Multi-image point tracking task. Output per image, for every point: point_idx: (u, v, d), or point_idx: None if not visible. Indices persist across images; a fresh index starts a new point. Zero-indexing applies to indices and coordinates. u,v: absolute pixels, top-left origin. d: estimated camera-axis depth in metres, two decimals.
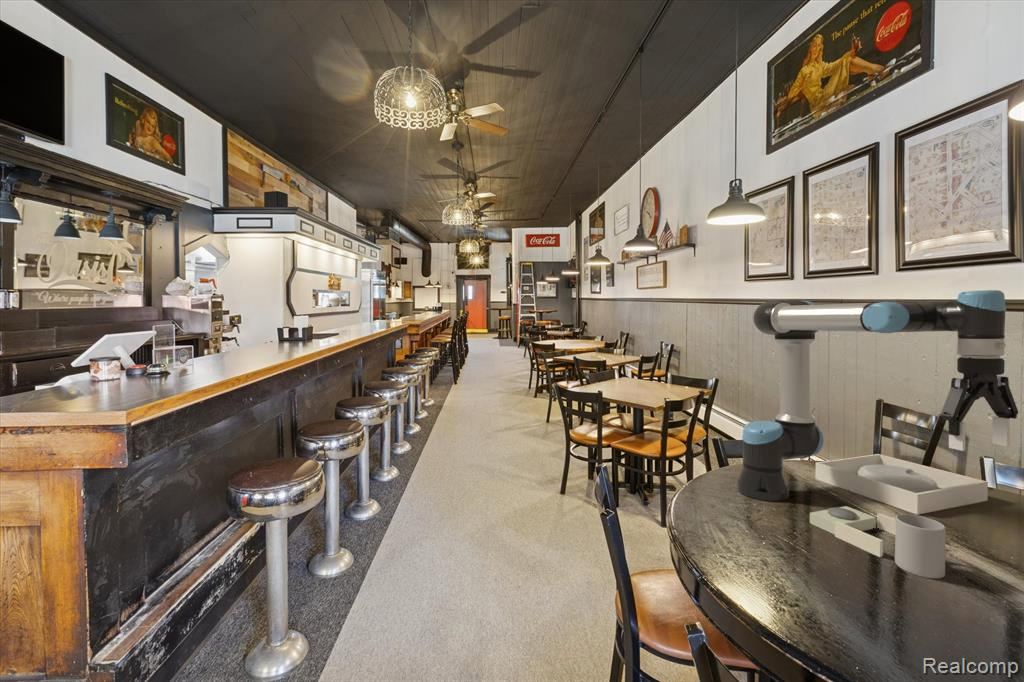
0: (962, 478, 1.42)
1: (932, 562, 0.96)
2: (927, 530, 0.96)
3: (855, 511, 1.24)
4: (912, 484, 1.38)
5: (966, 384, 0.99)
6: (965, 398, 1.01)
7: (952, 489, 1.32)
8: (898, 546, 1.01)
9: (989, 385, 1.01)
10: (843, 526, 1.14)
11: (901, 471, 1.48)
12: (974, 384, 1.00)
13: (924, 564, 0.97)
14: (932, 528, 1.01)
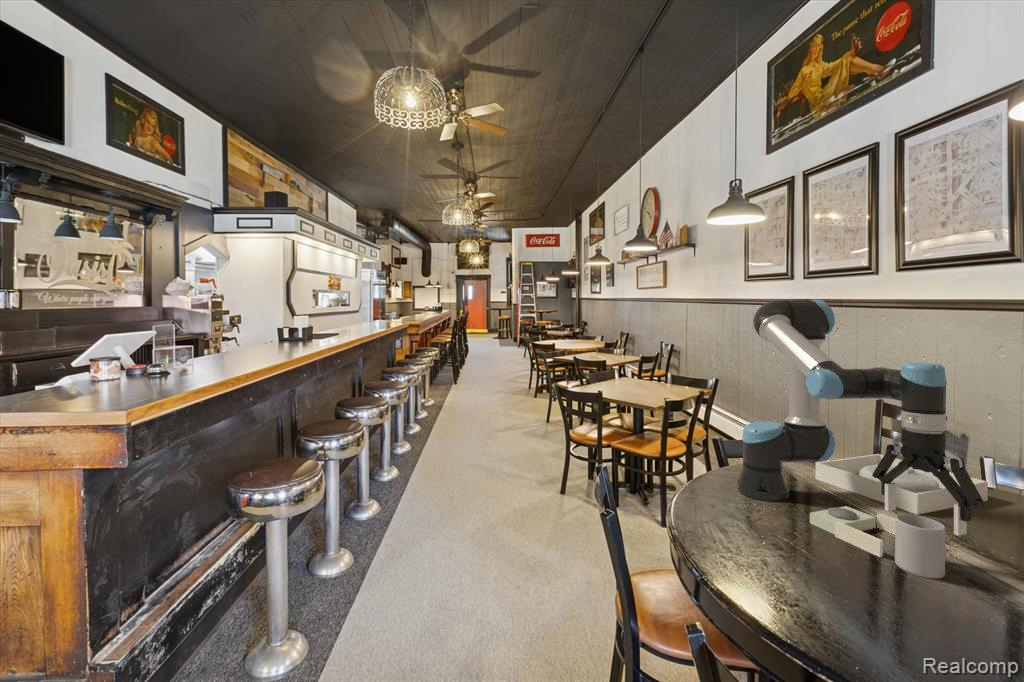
0: None
1: (932, 562, 0.96)
2: (927, 530, 0.97)
3: (855, 511, 1.24)
4: (913, 484, 1.38)
5: (889, 449, 1.06)
6: None
7: None
8: (898, 546, 1.01)
9: None
10: (843, 526, 1.14)
11: None
12: (902, 453, 1.04)
13: (924, 564, 0.97)
14: (932, 528, 1.01)
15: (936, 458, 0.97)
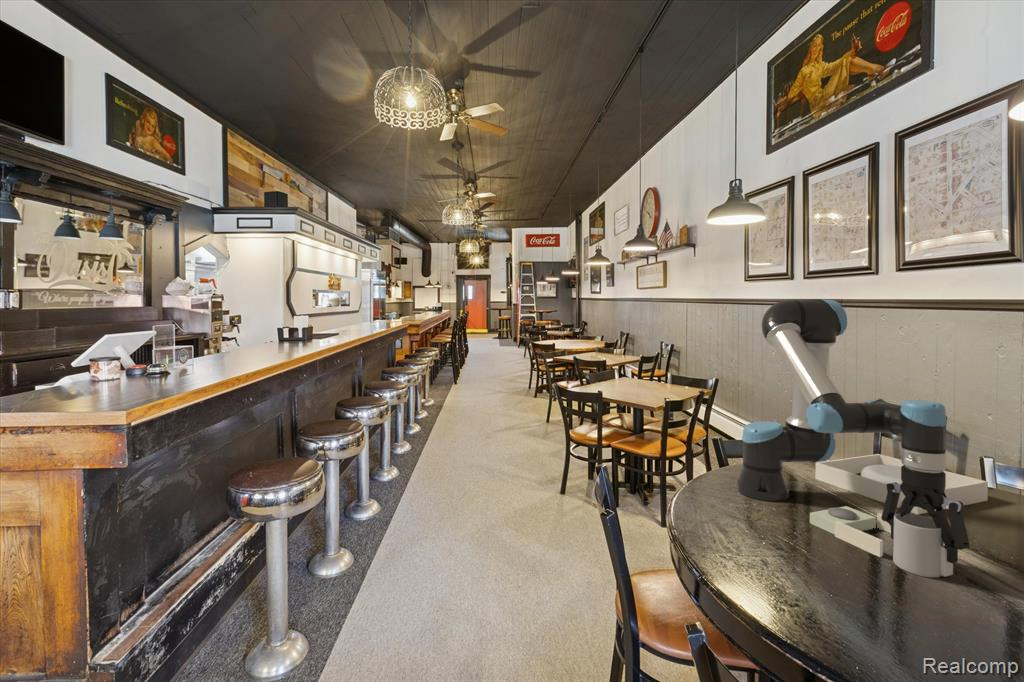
0: (962, 478, 1.42)
1: (930, 561, 0.97)
2: (925, 529, 0.97)
3: (855, 511, 1.24)
4: None
5: (890, 488, 1.06)
6: None
7: (952, 489, 1.32)
8: (896, 546, 1.02)
9: None
10: (843, 526, 1.14)
11: None
12: (902, 490, 1.04)
13: (922, 563, 0.97)
14: (930, 527, 1.01)
15: (936, 497, 0.97)
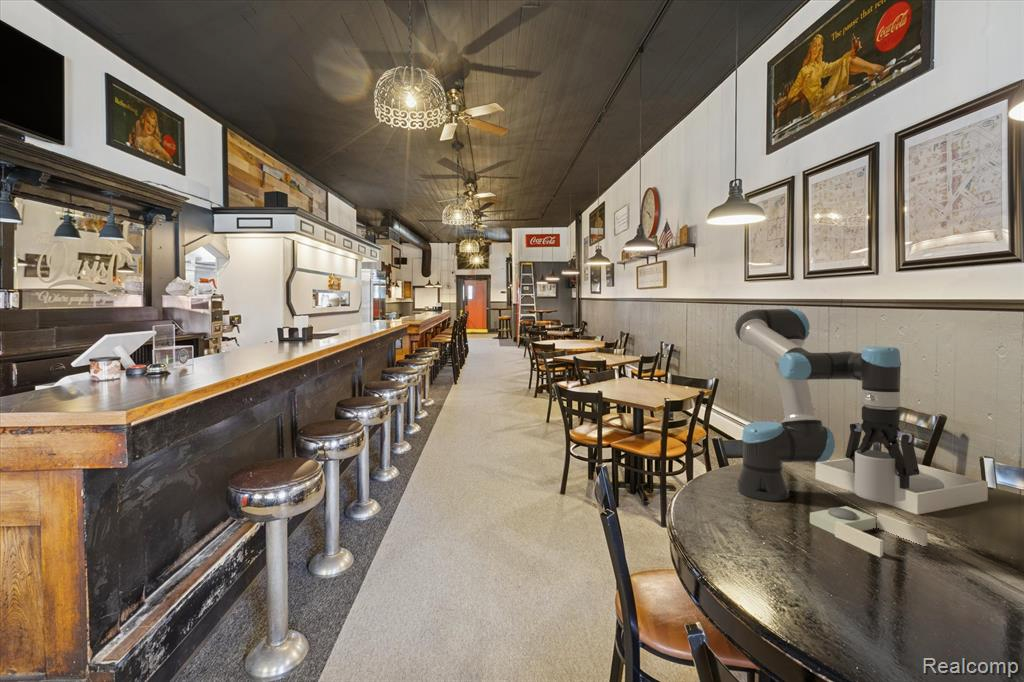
0: (962, 478, 1.42)
1: (885, 488, 1.08)
2: (881, 459, 1.08)
3: (855, 511, 1.24)
4: (918, 484, 1.38)
5: (852, 428, 1.17)
6: None
7: (952, 489, 1.32)
8: (856, 477, 1.13)
9: None
10: (843, 526, 1.14)
11: None
12: (863, 428, 1.15)
13: (878, 490, 1.08)
14: None
15: (891, 431, 1.09)
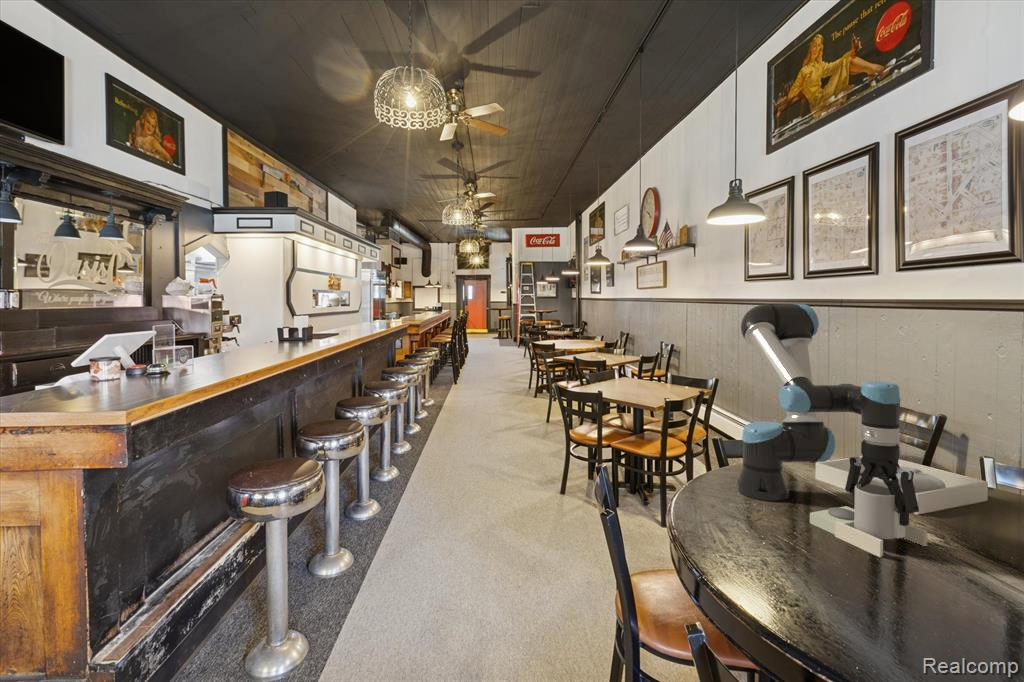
0: (962, 478, 1.42)
1: (885, 524, 1.08)
2: (880, 496, 1.08)
3: None
4: (919, 484, 1.38)
5: (852, 462, 1.18)
6: None
7: (952, 489, 1.32)
8: (856, 512, 1.13)
9: None
10: (843, 526, 1.14)
11: None
12: (863, 462, 1.15)
13: (878, 526, 1.09)
14: (887, 496, 1.13)
15: (890, 468, 1.09)
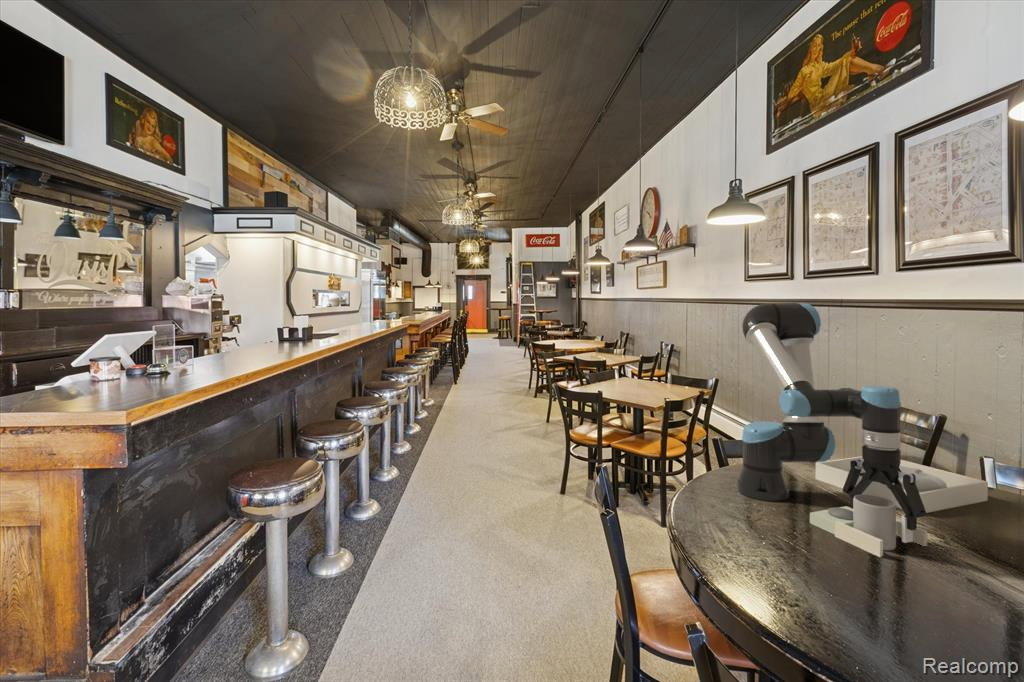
0: (962, 478, 1.42)
1: (884, 535, 1.08)
2: (879, 507, 1.09)
3: None
4: (920, 484, 1.38)
5: (853, 465, 1.18)
6: None
7: (952, 489, 1.32)
8: (855, 523, 1.13)
9: None
10: (843, 526, 1.14)
11: (910, 471, 1.47)
12: (864, 467, 1.15)
13: (877, 537, 1.09)
14: (886, 506, 1.13)
15: (892, 472, 1.09)
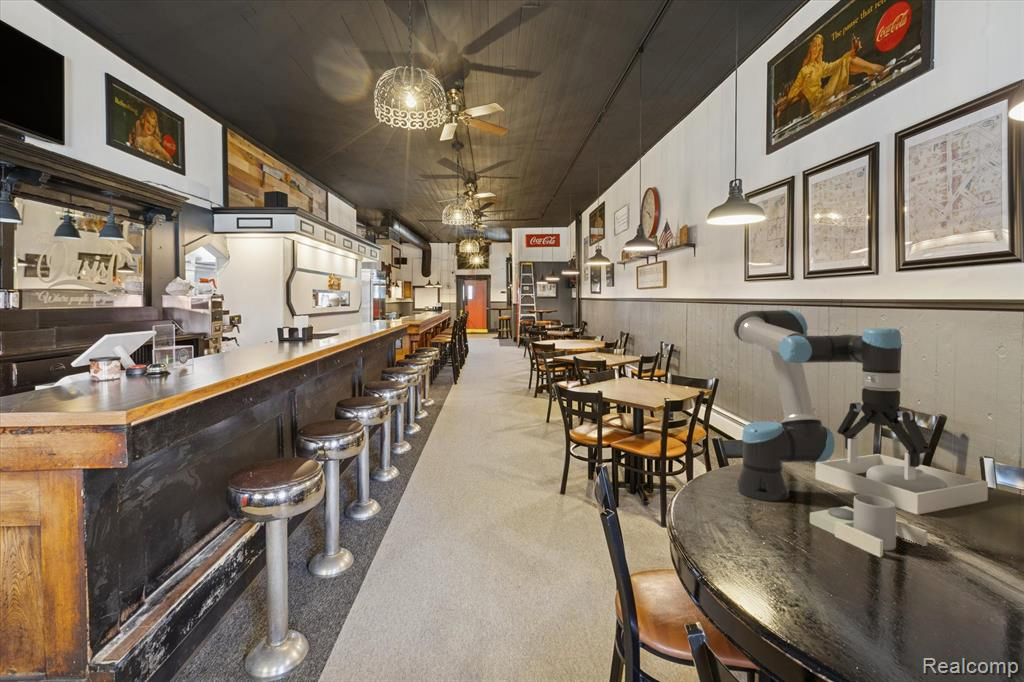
0: (962, 478, 1.42)
1: (884, 535, 1.08)
2: (879, 507, 1.09)
3: None
4: (921, 484, 1.38)
5: (852, 407, 1.17)
6: None
7: (952, 489, 1.32)
8: (855, 523, 1.13)
9: None
10: (843, 526, 1.14)
11: None
12: (863, 410, 1.15)
13: (877, 537, 1.09)
14: (886, 506, 1.13)
15: (891, 412, 1.09)
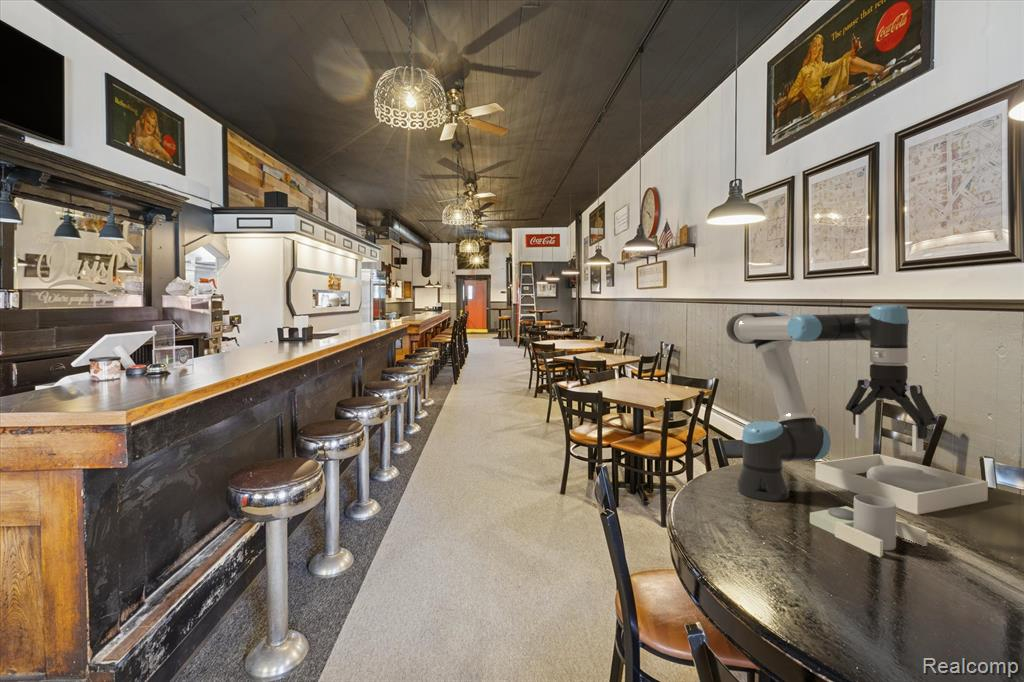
0: (962, 478, 1.42)
1: (884, 535, 1.08)
2: (879, 507, 1.09)
3: None
4: (922, 485, 1.38)
5: (860, 384, 1.20)
6: None
7: (952, 489, 1.32)
8: (855, 523, 1.13)
9: None
10: (843, 526, 1.14)
11: (911, 472, 1.47)
12: (870, 385, 1.18)
13: (876, 537, 1.09)
14: (886, 506, 1.13)
15: (898, 387, 1.11)
